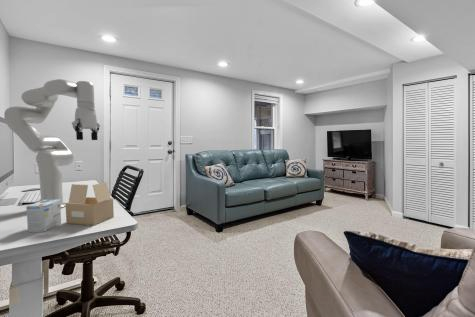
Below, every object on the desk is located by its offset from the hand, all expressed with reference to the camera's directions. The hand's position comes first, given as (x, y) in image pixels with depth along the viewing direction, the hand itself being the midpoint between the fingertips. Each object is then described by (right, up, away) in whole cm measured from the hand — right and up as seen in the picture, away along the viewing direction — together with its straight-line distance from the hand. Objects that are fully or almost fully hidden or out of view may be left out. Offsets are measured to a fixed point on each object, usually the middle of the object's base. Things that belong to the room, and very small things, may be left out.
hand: (87, 139), depth 125 cm
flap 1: (+9, -25, -20) cm, 33 cm away
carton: (+11, -38, -15) cm, 42 cm away
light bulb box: (-2, -39, -24) cm, 46 cm away
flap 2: (+17, -25, -17) cm, 34 cm away
